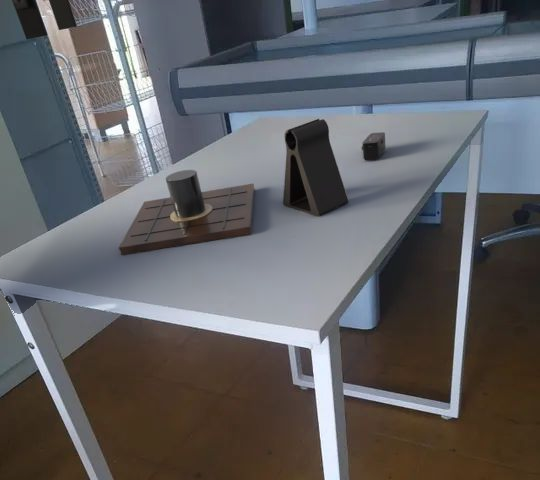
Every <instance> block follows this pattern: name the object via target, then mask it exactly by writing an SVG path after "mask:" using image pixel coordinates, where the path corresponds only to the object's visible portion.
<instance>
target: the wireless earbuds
mask: <svg viewBox="0 0 540 480" xmlns="http://www.w3.org/2000/svg"><path fill="white" fill-rule="evenodd" d="M360 147H361V151H362V157H363V160H364V161H368V162H369V161H370V162H371V161H377V160H378V159H379V158H380V157H381V156H382V155H383V153H384V152H385V151H386V132H384V131H383V132H381V131H379V132H372V133H370V134H368V136H367V137H366V138H365V139H364V140H363V141H362V145H361V146H360Z"/></svg>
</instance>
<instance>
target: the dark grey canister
mask: <svg viewBox="0 0 540 480" xmlns="http://www.w3.org/2000/svg"><path fill="white" fill-rule="evenodd" d="M165 183H166V186H167V190H168V193H169V197H171V201H172V204H173V208H174V212H175V215H176V217H179V218H188V217H193V216H196V215H199V214H201V213H203V212H204V211H205V209H206V208H205V204H204V200H203V196H202V192H203V191H202V188H201V183H200V180H199V175H198V171H197V170H194V169H185V170H183V169H182V170H179V171H176V172H173V173H170V174H168V175H167V176H165Z"/></svg>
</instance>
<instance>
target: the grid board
mask: <svg viewBox="0 0 540 480" xmlns="http://www.w3.org/2000/svg"><path fill="white" fill-rule="evenodd" d="M201 192H202V196H203V200H204V204H205V208H206V209H205V211H204V212H203V213H201V214H199V215H196V216H193V217H188V218H179V217H176V215H175V212H174V208H173V204H172V201H171V197H170V196H169V197H164V198H158V199H152V200H146V201H144V202H143V203H142V205H141V207H140V209H139V210H138V212H137V214H136V216H135V217H134V219H133V221H132V223H131V225H130V227H129V228H128V230H127V232H126V234H125V236H124V238H123V239H122V241H121V243H120V245H119V246H118V249H119V252H120V255H129V254H135V253H136V254H137V253H141V252H147V251H155V250H160V249H167V248H172V247H173V248H174V247H178V246H179V247H180V246H186V245H191V244H197V243H205V242H211V241H217V240H225V239H230V238H237V237H242V236H243V237H244V236H249V235H250V236H251V235H252V231H253V230H252V229H253V216H254V203H255V192H256V190H255V184H254V183H247V184H241V185H236V186H230V187H229V186H228V187H223V188H219V189H218V188H217V189H211V190H206V191H201Z"/></svg>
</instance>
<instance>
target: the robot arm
mask: <svg viewBox="0 0 540 480" xmlns="http://www.w3.org/2000/svg"><path fill="white" fill-rule="evenodd" d="M11 1H12V5H13V7H14V10H15V12H16V14H17V15H16V16H17V18H18V20H19V23H20V26H21V29H22V31H23V34H24V36H25V39H26V40H30V39H31V40H32V39H36V38H40V37H45V36H48V32H47V29H46V27H45V24H44V21H43V18H42V15H41V12H40V9H39V6H38V3H37V0H11ZM48 1H49V4H50V9H51V11H52V14H53V17H54V20H55V24H56V26H57V28H58V31H62V30H68V29H72V28H76V27H78V24H77V22H76V19H75V15H74V12H73V9H72V7H71V6H72V5H71V2H70V0H48Z"/></svg>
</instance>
